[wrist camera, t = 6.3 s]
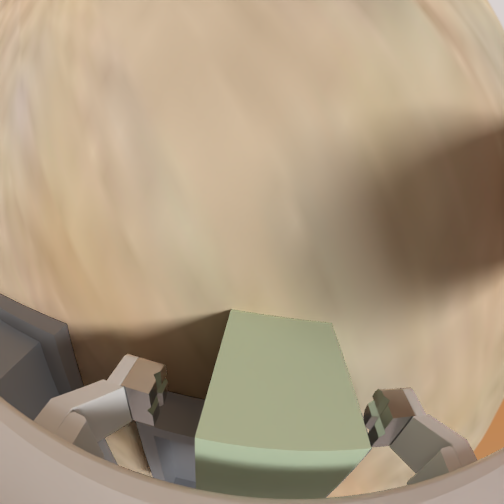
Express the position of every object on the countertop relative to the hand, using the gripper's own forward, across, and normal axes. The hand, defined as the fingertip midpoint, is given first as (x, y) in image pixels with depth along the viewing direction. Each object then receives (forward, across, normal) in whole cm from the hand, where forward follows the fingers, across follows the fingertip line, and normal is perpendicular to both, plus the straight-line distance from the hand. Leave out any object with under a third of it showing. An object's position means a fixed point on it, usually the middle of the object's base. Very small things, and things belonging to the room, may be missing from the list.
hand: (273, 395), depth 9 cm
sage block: (+2, 0, 0) cm, 2 cm away
